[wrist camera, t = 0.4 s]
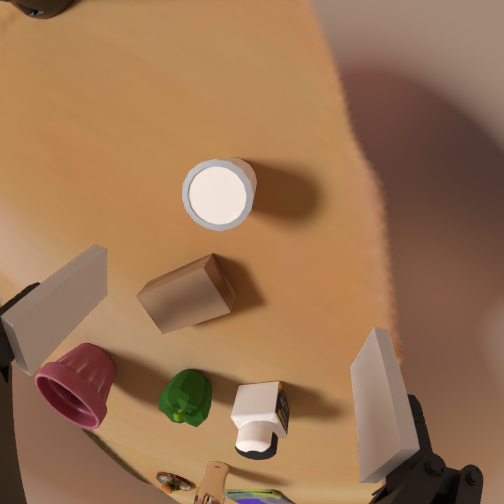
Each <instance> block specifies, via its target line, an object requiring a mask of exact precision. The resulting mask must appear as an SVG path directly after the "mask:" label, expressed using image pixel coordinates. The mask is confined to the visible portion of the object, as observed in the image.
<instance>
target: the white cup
mask: <svg viewBox="0 0 504 504" xmlns="http://www.w3.org/2000/svg"><path fill="white" fill-rule="evenodd" d="M256 185H257V179H256V175H255V172H254V170H253V169H252V167H251V166H250V165H249V164H248V163H246V162H245V161H243V160H242V159H238V158H232V157H230V158H220V159H213V160H209V161H205V162H201V163H199V164H198V165H197V166H195V167H194V168H193V169H192V170H190V171H189V173H188V175H187V177H186V179H185V181H184V182H183V190H182V199H183V202H184V206H185V209H186V211H187V212H188V214H189V215H190V216H191V218H192V219H193V220H194V221H195V222H197V223H198V224H200V225H201V226H203V227H204V228H207V229H211V230H216V231H222V230H228V229H233V228H234V227H236V226H237V225H239V224H240V223H242V222H243V221H244V220H245V219H246V217H247V215H248V214H249V212H250V211H251V209H252V204H253V200H254V195H255V191H256Z"/></svg>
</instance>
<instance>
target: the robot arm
mask: <svg viewBox="0 0 504 504" xmlns="http://www.w3.org/2000/svg"><path fill="white" fill-rule="evenodd" d="M0 1H5V2H9V3H11V4H12V5H14V6H15V7H16V8H18V9H19V10H20V11H21V12H23V13H24V14H25V15H27V16H29V17H32V18H37V19H47V18H50V17H53V16H55V15H57V14H58V13H60V12H61V11H63V10H64V9H65V8H67V7H68V6H69V5H70V4H71V3H72V2H73V1H74V0H0ZM106 296H107V248H104V247H101V246H98V245H93V246H92V247H90V248H89V249H88V250H86V251H85V252H83V253H82V254H80V255H79V256H78V257H76V258H75V259H73V260H72V261H71V262H69V263H68V264H66V265H65V266H64V267H62V268H61V269H60V270H58V271H57V272H56V273H54V274H53V275H52V276H50V277H49V278H48V279H46V280H45V281H44V282H42V283H39V282H37V283H34V284H32V285H29V286H27V287H26V288H25V289H23V290H22V291H21V292H20V294H19V293H18V294H17V295H16V296H14V298H12V299H11V300H9V301H8V302H7V303H6V304H5V305H3V306H2V307H1V308H0V504H27V502H26V498H25V493H24V489H23V484H22V479H21V474H20V469H19V463H18V457H17V449H16V441H15V431H14V419H13V402H12V365H11V361H13V360H14V358H15V360H16V362H17V365H18V367H19V368H20V369H21V370H22V371H24V372H26V373H27V374H28V375H30V376H32V375H33V373H34V372H35V371H36V370H37V369H38V368H39V367H40V366H41V364H42V363H43V362H44V361H45V360H46V359H47V358H48V357H49V355H50V354H51V353H52V352H53V351H54V350H55V349H56V348H57V347H58V346H59V344H60V343H61V342H62V341H63V340H64V339H65V338H66V337H67V336H68V335H69V334H70V333H71V332H72V331H73V329H74V328H75V327H76V326H77V325H78V324H79V323H80V322H81V321H82V320H83V319H84V318H85V317H86V316H87V315H88V314H89V313H90V312H91V311H92V310H93V309H94V308H95V307H96V306H97V305H98V304H99V303H100V302H101V301H102V300H103V299H104V298H105V297H106ZM350 371H351V379H352V388H353V397H354V407H355V417H356V428H357V441H358V456H359V475H360V483H378V482H379V481H380V480H382V479H383V478H385V477H386V484H385V485H384V486H383V487H381V488H380V489H378V490H377V491H375V492H374V493H373V494H371V495H373V496H374V495H375V497H374V498H373V499H372V500H371V501H370V503H369V504H480V501H481V494H482V488H483V475H482V472H481V471H480V469H479V468H478V467H476V466H475V465H467V466H465V467H464V468H462V469H461V470H460V471H459V470H455V469H452V468H448V467H446V465H445V463H444V461H443V459H442V458H441V457H440V456H438V455H436V454H434V453H433V452H432V448H431V443H430V439H429V435H428V431H427V427H426V424H425V419H424V416H423V412H422V408H421V404H420V403H419V401H418V400H417V398H416V397H415V396H414V395H409V394H407V393H406V389H405V385H404V382H403V378H402V375H401V371H400V368H399V364H398V361H397V358H396V354H395V351H394V348H393V345H392V342H391V339H390V336H389V333H388V330H387V329H382V328H378V327H373V329H372V331H371V332H370V334H369V336H368V338H367V339H366V341H365V343H364V345H363V346H362V348H361V350H360V351H359V353H358V355H357V356H356V358H355V360H354V361H353V363H352V365H351V366H350Z"/></svg>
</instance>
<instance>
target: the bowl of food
mask: <svg viewBox="0 0 504 504" xmlns="http://www.w3.org/2000/svg"><path fill="white" fill-rule="evenodd" d="M156 478H157V480H158V481H159V482H161V483H163V484H162V489H163V490H164V491H165V492H166V493H172V491H176V490H177V491H178V490H184V491H188V490H191V488H190V485H188V484H187V483H186V482H185V481H186V479H184V478H182V477H180V478H176V476H175V475H174V474H170V473H169V474H167V473H163V472H160V473H157V476H156Z"/></svg>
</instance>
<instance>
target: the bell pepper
mask: <svg viewBox="0 0 504 504" xmlns="http://www.w3.org/2000/svg"><path fill="white" fill-rule="evenodd" d="M211 398H212V388H211V385H210V383H209V382H208V381H207V380H205V379H204V377H203V376H202V375H201V374H200V373H199V372H197V371H194V370H183V371H182V372H180V373H178V374H177V375H176V376H175V377H174V378H173V379H172V380H171V381H170V382H169V383H168V384H167V385H166V387H165V389H164V390H163V392H162V394H161V396H160V398H159V410H160V411H162V412H163V413H165V414H166V415H167V416H168V418H169V419H170V420H171V421H172V422H176V423H183V422H186V423H188V424H190V425H192V426H195V427H198V426H199V425H200V424H201V423H202V422H203V421H204V420H205V419H206V418H207V417H208V414H209V410H210V407H211Z"/></svg>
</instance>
